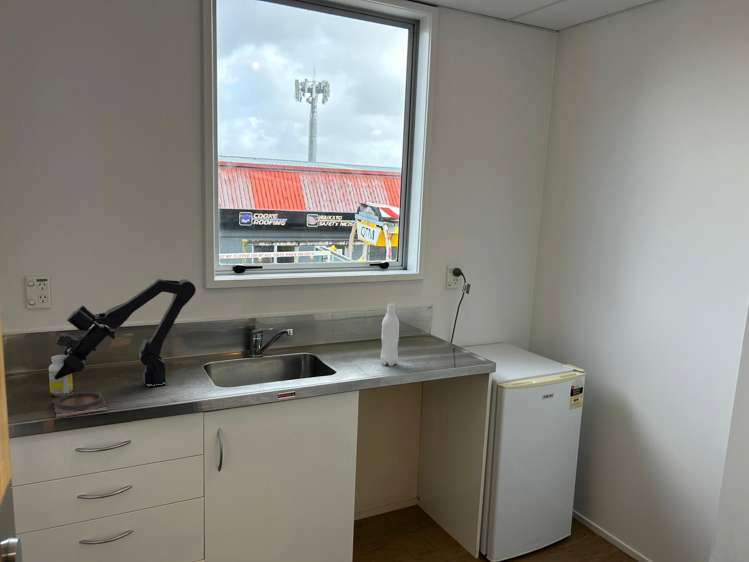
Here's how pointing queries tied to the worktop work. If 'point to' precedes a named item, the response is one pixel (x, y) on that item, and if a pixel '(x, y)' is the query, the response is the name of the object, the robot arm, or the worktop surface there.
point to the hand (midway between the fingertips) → (55, 375)
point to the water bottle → (390, 336)
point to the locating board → (79, 402)
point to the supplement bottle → (60, 384)
